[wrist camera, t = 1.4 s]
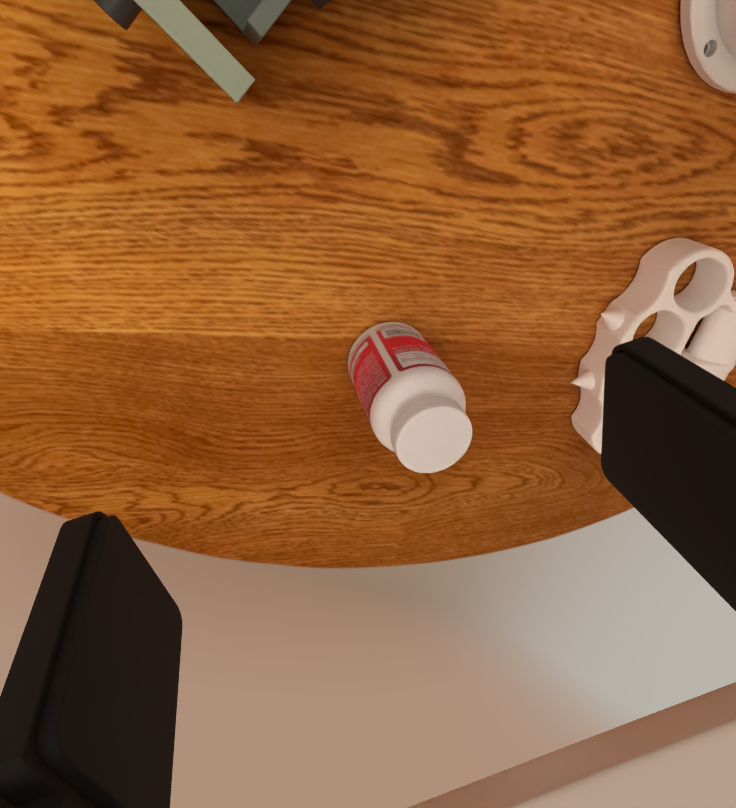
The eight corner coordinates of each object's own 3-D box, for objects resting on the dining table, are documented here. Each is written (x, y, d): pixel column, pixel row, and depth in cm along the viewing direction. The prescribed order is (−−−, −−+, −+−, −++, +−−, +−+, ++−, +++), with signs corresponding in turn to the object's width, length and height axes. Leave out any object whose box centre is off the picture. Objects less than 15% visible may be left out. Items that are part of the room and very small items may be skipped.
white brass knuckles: (666, 439, 51) (535, 433, 47) (770, 253, 42) (620, 226, 38) (692, 460, 48) (554, 455, 44) (808, 265, 40) (651, 237, 35)
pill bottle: (368, 406, 42) (407, 499, 32) (331, 345, 38) (364, 430, 29) (438, 368, 41) (498, 451, 32) (407, 303, 38) (465, 376, 29)
